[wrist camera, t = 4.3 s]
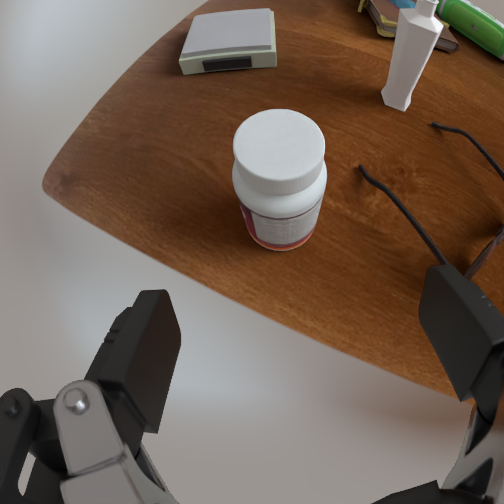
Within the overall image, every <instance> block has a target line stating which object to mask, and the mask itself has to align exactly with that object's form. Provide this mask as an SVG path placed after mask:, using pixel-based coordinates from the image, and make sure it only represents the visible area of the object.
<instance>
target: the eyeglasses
mask: <svg viewBox="0 0 504 504" xmlns="http://www.w3.org/2000/svg"><path fill="white" fill-rule="evenodd" d="M432 126H434V127H436V128H439V129H441V130H444V131H450V132H454V133H458V134H462V135H464V136H465V137H467V138H468V139H469V140H470V141H471V142H472V143H473V144H474V145H475V146H476V147H477V148H478V149H479V150H480V152H481V153H482V154H483V155H484V156H485V157H486V159H487V160H488V161H489V162H490V164H491V165H492V166H493V167H494V169H495V170H496V171H497V172H498V174H499V175H500V176H501V178H502V179H503V180H504V171H503V170H502V169H501V168H500V166H499V165H498V164H497V163H496V162H495V161H494V159H493V158H492V157H491V156H490V155H489V154H488V153H487V151H486V150H485V149H484V148H483V147H482V146H481V145H480V144H479V143H478V142H477V141H476V140H475V139H474V138H473V137H472V136H471V135H470V134H469V133H467V132H466V131H464V130H461V129H458V128H454V127H449V126H444V125H441V124H439V123H436V122H432ZM359 170H360V171H361V173H362V174H363V176H364V177H365V179H366V180H367V181H368V182H369V183H370V184H372V185H373V186H375V187H377V188H379V189H380V190H382V191H383V192H384V193H386V194H387V195H388V196H389V198H390V199H391V200H392V201H393V202H394V203H395V204H396V206H397V207H398V208H399V209H400V210H401V211H402V213H403V214H404V215H405V216H406V218H407V219H408V220H409V221H410V223H411V224H412V225H413V226H414V228H415V229H416V230H417V232H418V233H419V234H420V236H421V237H422V238H423V240H424V241H425V243H426V244H427V245H428V247H429V248H430V249H431V251H432V252H433V254H434V255H435V257H436V258H437V259H438V261H439V262H440V264H441V265H445V264H449V262H448V261H447V260H446V258H445V257H444V255H443V254H442V253H441V251H440V250H439V249H438V247H437V246H436V245H435V243H434V242H433V241H432V239H431V238H430V237H429V235H428V234H427V233H426V232H425V230H424V229H423V228H422V226H421V225H420V224H419V223H418V222H417V220H416V219H415V218H414V217H413V216H412V214H411V213H410V212H409V211H408V210H407V208H406V207H405V206H404V205H403V204H402V203H401V201H400V200H399V199H398V198H397V197H396V196H395V195H394V194H393V193H392V192H391V190H390V189H388V188H387V187H386V186H385V185H383V184H382V183H380V182H379V181H377V180H375V179H374V178H372V177H371V176H370V175H369V174H368V173H367V171H366V169H365V168H364V166H363V165H362V164H361V165H359ZM495 236H496V237H495V238H494V239H493V240H492V241H491V242H490V243H489V244H488V245H487V246H486V247H485V248H484V250H483V251H482V252H481V253H480V255H479V256H478V257H477V259H476V260H475V261H474V262H473V264H472V265H471V266H470V268H469V269H468V270H467V272H466V273H465V274H464V276H463V277H465V278H467V279H468V280H470V279H471V278H472V277H473V276H474V275H475V274H476V273H477V271H478V270H479V269H480V268H481V267H482V266H483V264H484V263H485V262H486V260H487V259H488V257H489V256H490V255H491V253H492V252H493V250H494V248H495V246H496V245H498V244H500V243H501V242H502V240H503V239H504V224H503V225H502V227H501V228H500V229H499V230H498V231H497V233H496V234H495Z"/></svg>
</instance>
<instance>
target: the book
mask: <svg viewBox="0 0 504 504" xmlns="http://www.w3.org/2000/svg"><path fill="white" fill-rule="evenodd" d="M416 2H417V0H360V4H359V8H358V12H362V11H363V7H365V9H367V11H368V12H369V14H370V16H371V17H372V19H373V21H374V23H375V24H376V26H377V33H379V34H380V35H382V36H384V37H396V31H397V24H398V18H399V11H400V9H407V8H415V6H416ZM433 16H434V17H435V18H436V19H437V20H438V21H439V22H440V23H441V24H442V25H443V29H442V31H441V33H440V35H439V38H438V40H437V42H436V44H435V46H434V47H436V48H439V49H442V50H445V51H448V52H451V53H455V52H457V51H458V50H459V43H458V42H457V40H456V39H455V38H454V36H453V35H452V34H451V32H450V31H449V30H448V28H449V24H448V23H446V22H443V21H441V20H440V19H439V17H438V16H437V15H436V14H435V13H434V15H433Z"/></svg>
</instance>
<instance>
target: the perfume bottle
mask: <svg viewBox="0 0 504 504" xmlns="http://www.w3.org/2000/svg"><path fill="white" fill-rule="evenodd" d="M438 3H439V1H438V0H417V2H416V6H415V8H407V9H400V11H399V18H398V24H397V31H396V37H395V43H394V49H393V54H392V59H391V65H390V70H389V75H388V80H387V84H386V86H385V87H384V88H383V89H382V91H381V94H382V97H383V101H384V104H385V105H387V106H390V107H392V108H395V109H398V110H401V111H405V110H406V109H407V107H408V106H409V104H410V103H411V93H412V91H413V89H414V87H415V85H416V83H417V81H418V79H419V77H420V75H421V73H422V71H423V69H424V67H425V65H426V63H427V61H428V59H429V57H430V55H431V52H432V50H433V48H434V46H435V44H436V42H437V40H438V38H439V35H440V33H441V31H442V29H443V25H442V24H441V23H440V22H439V21H438V20H437V19H436V18H435V17H434V16H433V15H434V12H435V9H436V6H437V4H438Z"/></svg>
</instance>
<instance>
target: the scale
mask: <svg viewBox="0 0 504 504" xmlns="http://www.w3.org/2000/svg"><path fill="white" fill-rule="evenodd" d="M179 64H180V66H181V69H182V72H183V74H184V75H188V74H195V73H202V72H211V71H220V70H231V69H245V68H264V67H277V61H276V42H275V25H274V11H270V9H269V8H268V9H249V10H237V11H227V12H218V13H210V14H203V15H197V16H195V18H194V19H193V22H192V25H191V27H190V30H189V33H188V35H187V38H186V41H185V44H184V47H183V50H182V52H181V55H180V58H179Z"/></svg>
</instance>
